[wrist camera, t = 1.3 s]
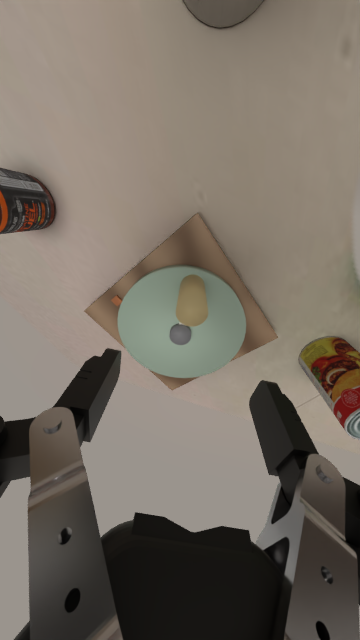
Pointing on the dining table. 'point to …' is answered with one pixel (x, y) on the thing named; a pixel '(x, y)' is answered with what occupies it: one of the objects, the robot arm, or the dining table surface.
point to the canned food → (336, 378)
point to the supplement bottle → (23, 203)
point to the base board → (196, 250)
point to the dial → (182, 321)
